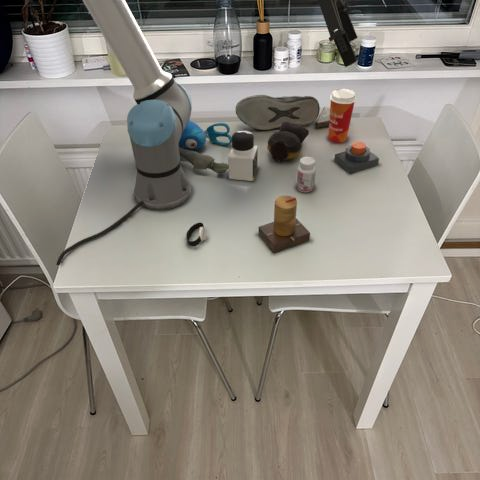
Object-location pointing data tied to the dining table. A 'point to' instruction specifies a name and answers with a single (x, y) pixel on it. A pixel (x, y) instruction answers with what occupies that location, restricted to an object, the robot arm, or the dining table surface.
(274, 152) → the figurine
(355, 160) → the button box
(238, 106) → the shoe
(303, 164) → the pill bottle
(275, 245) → the panel
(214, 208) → the dining table surface
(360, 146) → the button
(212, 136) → the scissors
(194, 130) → the toy
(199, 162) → the statue
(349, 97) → the paper cup
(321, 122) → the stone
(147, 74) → the robot arm
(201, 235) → the watch
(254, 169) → the medicine bottle
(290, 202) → the lock knob
